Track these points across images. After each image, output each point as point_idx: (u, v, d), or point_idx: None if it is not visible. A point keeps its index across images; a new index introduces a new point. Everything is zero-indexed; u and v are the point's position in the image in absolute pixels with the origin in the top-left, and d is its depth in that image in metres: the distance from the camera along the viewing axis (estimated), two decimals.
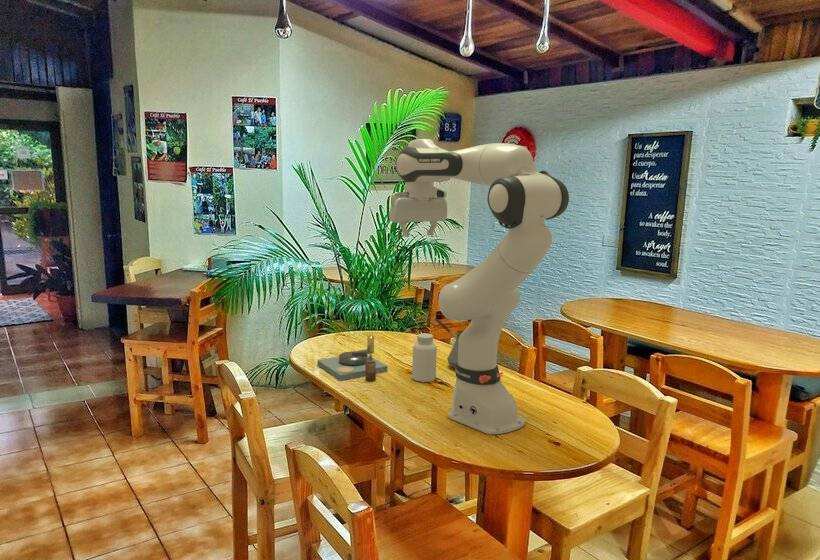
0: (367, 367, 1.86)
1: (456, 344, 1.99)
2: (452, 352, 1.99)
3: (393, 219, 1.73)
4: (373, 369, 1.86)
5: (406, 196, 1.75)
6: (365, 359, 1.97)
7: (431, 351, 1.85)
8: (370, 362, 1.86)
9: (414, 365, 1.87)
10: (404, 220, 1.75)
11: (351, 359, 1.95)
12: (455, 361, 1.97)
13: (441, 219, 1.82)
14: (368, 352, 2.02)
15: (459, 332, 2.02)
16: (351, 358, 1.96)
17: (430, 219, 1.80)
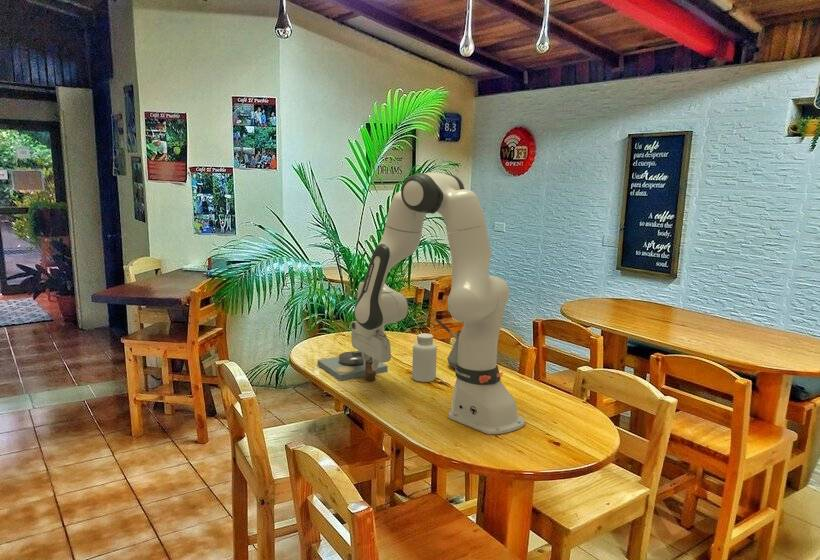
0: (367, 367, 1.86)
1: (456, 344, 1.99)
2: (452, 352, 1.99)
3: (388, 359, 1.79)
4: None
5: None
6: None
7: (431, 351, 1.85)
8: (370, 362, 1.86)
9: (414, 365, 1.87)
10: None
11: (351, 359, 1.95)
12: (455, 361, 1.97)
13: None
14: None
15: (459, 332, 2.02)
16: (351, 358, 1.96)
17: None
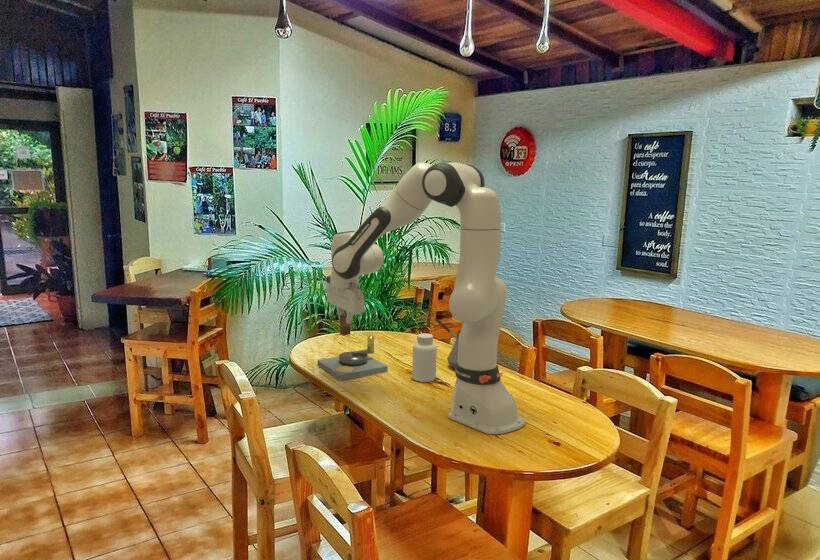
0: (341, 320, 1.86)
1: (456, 344, 1.99)
2: (452, 352, 1.99)
3: (362, 311, 1.79)
4: None
5: None
6: (365, 359, 1.97)
7: (431, 351, 1.85)
8: (344, 315, 1.86)
9: (414, 365, 1.87)
10: None
11: (351, 359, 1.95)
12: (455, 361, 1.97)
13: None
14: (368, 352, 2.02)
15: (459, 332, 2.02)
16: (351, 358, 1.96)
17: None
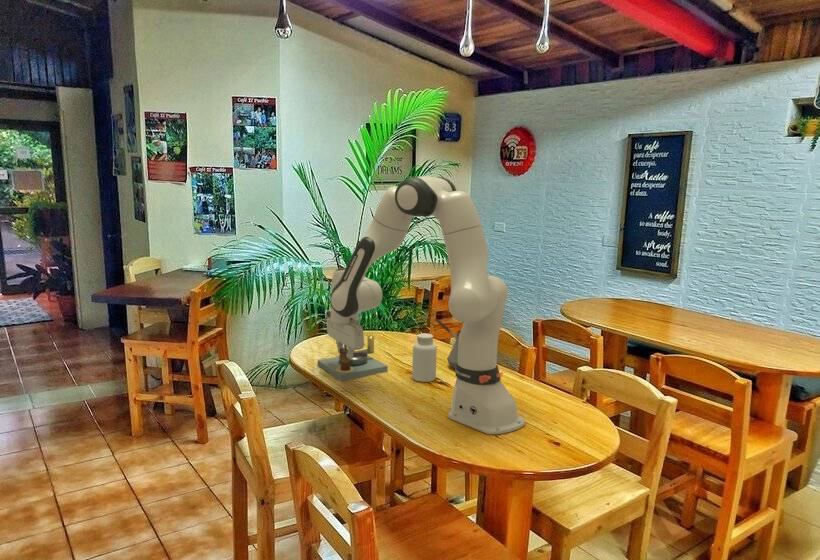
0: (342, 356, 1.88)
1: (456, 344, 1.99)
2: (452, 352, 1.99)
3: (362, 346, 1.81)
4: None
5: None
6: (365, 359, 1.97)
7: (431, 351, 1.85)
8: (345, 351, 1.89)
9: (414, 365, 1.87)
10: None
11: (351, 359, 1.95)
12: (455, 361, 1.97)
13: None
14: (368, 352, 2.02)
15: (459, 332, 2.02)
16: None
17: None
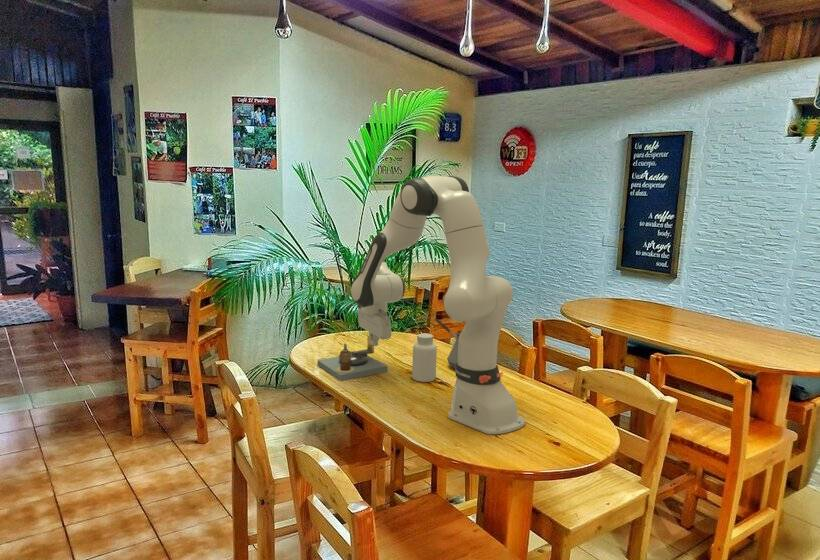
0: (342, 356, 1.88)
1: (456, 344, 1.99)
2: (452, 352, 1.99)
3: (389, 336, 1.91)
4: (348, 358, 1.89)
5: None
6: (365, 359, 1.97)
7: (431, 351, 1.85)
8: (345, 351, 1.89)
9: (414, 365, 1.87)
10: None
11: (351, 359, 1.95)
12: (455, 361, 1.97)
13: None
14: (368, 352, 2.02)
15: (459, 332, 2.02)
16: (351, 358, 1.96)
17: None
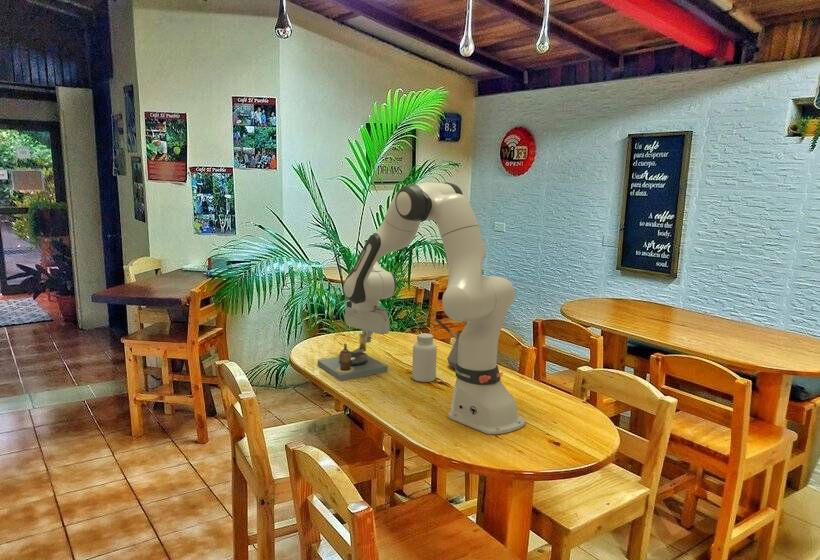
0: (342, 356, 1.88)
1: (456, 344, 1.99)
2: (452, 352, 1.99)
3: (388, 331, 1.97)
4: (348, 358, 1.89)
5: None
6: None
7: (431, 351, 1.85)
8: (345, 351, 1.89)
9: (414, 365, 1.87)
10: None
11: (358, 359, 1.96)
12: (455, 361, 1.97)
13: None
14: (363, 350, 2.04)
15: (459, 332, 2.02)
16: (357, 358, 1.96)
17: None
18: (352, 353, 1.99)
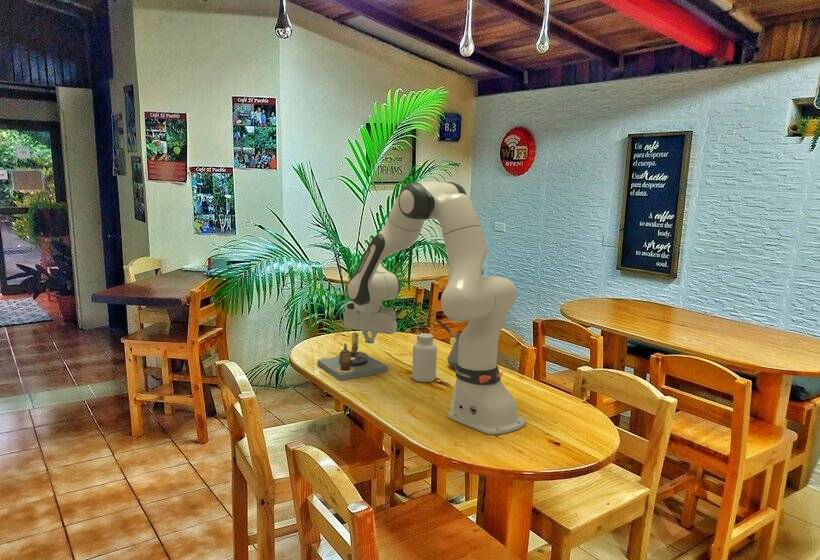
0: (342, 356, 1.88)
1: (456, 344, 1.99)
2: (452, 352, 1.99)
3: (395, 330, 1.99)
4: (348, 358, 1.89)
5: None
6: None
7: (431, 351, 1.85)
8: (345, 351, 1.89)
9: (414, 365, 1.87)
10: None
11: (362, 358, 1.97)
12: (455, 361, 1.97)
13: None
14: (357, 349, 2.05)
15: (459, 332, 2.02)
16: (361, 357, 1.97)
17: None
18: (352, 353, 1.99)
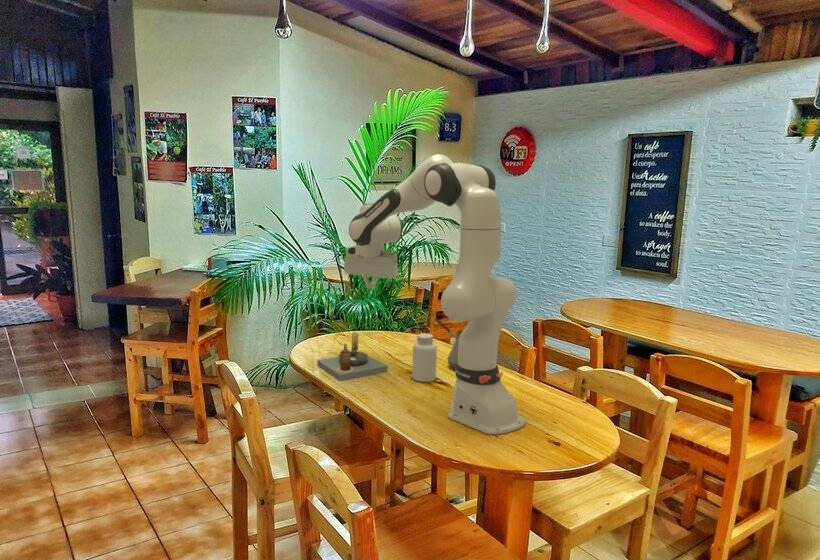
0: (342, 356, 1.88)
1: (456, 344, 1.99)
2: (452, 352, 1.99)
3: (396, 275, 1.97)
4: (348, 358, 1.89)
5: None
6: None
7: (431, 351, 1.85)
8: (345, 351, 1.89)
9: (414, 365, 1.87)
10: None
11: (362, 358, 1.97)
12: (455, 361, 1.97)
13: None
14: (357, 349, 2.05)
15: (459, 332, 2.02)
16: (361, 357, 1.97)
17: None
18: (352, 353, 1.99)
